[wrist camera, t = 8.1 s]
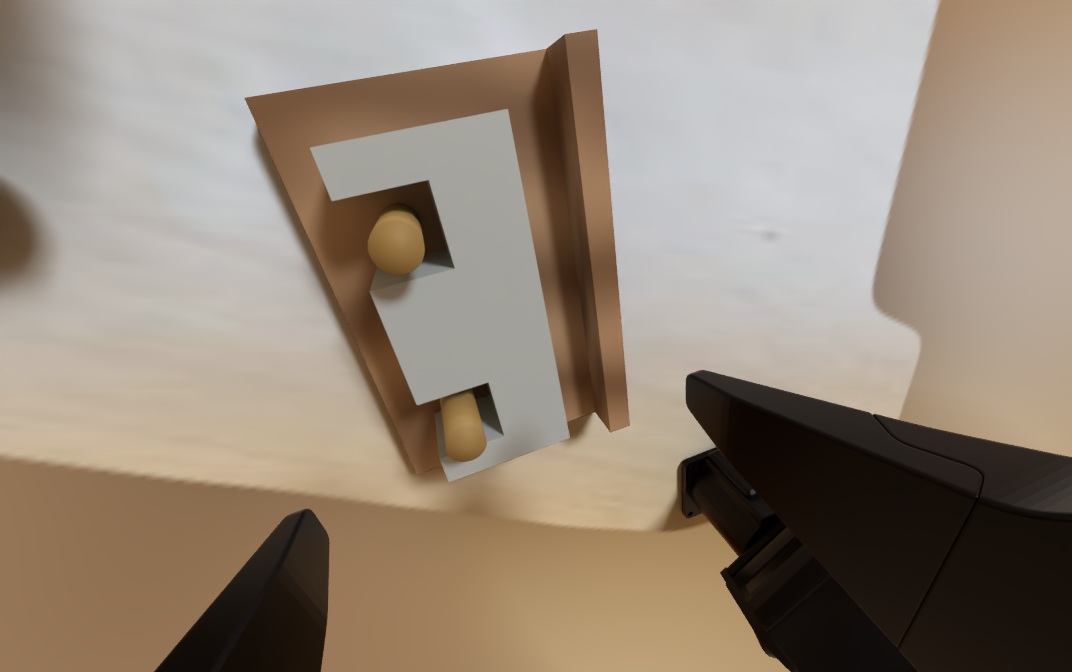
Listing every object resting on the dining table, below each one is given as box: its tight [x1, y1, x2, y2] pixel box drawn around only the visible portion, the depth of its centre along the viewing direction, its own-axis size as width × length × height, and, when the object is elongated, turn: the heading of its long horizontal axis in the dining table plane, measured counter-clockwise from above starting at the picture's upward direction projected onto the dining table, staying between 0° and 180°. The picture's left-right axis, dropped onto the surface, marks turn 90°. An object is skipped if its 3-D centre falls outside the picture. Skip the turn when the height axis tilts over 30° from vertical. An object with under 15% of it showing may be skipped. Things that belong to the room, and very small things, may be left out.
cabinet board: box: [245, 29, 630, 474], centre depth 17 cm, size 18×12×6 cm, turn 11°
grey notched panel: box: [310, 109, 570, 482], centre depth 16 cm, size 14×6×4 cm, turn 11°
